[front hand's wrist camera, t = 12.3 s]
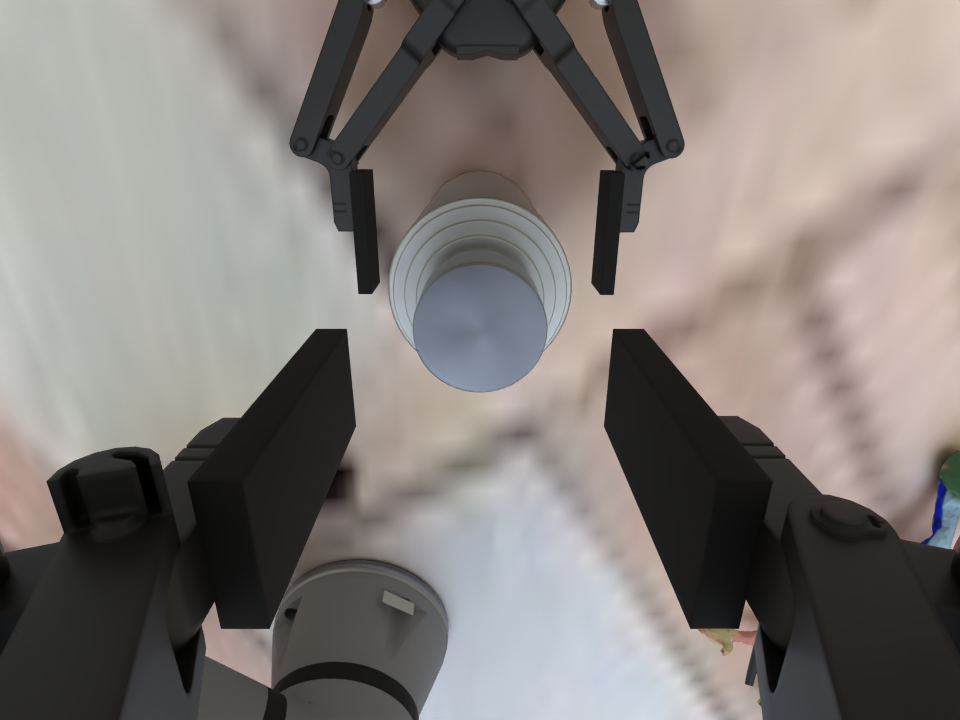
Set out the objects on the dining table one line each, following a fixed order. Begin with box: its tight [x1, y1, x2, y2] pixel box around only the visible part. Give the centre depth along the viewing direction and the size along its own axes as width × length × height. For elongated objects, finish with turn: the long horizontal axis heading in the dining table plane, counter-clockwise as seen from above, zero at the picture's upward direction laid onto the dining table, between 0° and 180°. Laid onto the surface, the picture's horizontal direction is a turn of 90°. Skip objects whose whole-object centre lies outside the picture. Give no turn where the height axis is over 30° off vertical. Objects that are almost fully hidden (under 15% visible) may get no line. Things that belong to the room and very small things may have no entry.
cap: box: [413, 251, 548, 392], centre depth 19 cm, size 4×4×2 cm
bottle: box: [388, 171, 572, 351], centre depth 28 cm, size 7×7×21 cm
